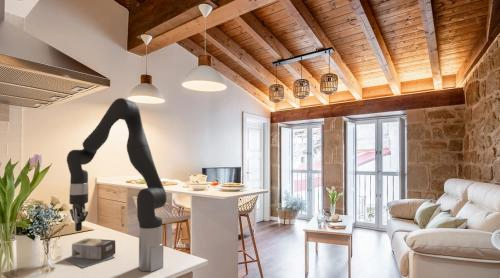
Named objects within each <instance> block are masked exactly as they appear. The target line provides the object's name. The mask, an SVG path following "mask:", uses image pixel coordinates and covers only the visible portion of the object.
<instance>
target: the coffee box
mask: <svg viewBox="0 0 500 278" xmlns="http://www.w3.org/2000/svg"><path fill="white" fill-rule="evenodd" d="M115 254H116V240H115V239H113V240H112V239H103V238H102V239H101V238H87V237H85V238H83V239H82V240H81V239H80V240H78V241H76V242H74V243H72V244H71V257H75V258H86V259H96V260H104V259H106V258H108V257H110V256H114V255H115Z"/></svg>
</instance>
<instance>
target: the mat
mask: <svg viewBox="0 0 500 278" xmlns="http://www.w3.org/2000/svg"><path fill="white" fill-rule="evenodd" d="M112 259H115V256H114V255H112V256H110V257H108V258H106V259H104V260H96V259H86V258H75V257H72V256H71V257H67V258H64V260H65V261H66V262H69V263H71V264H73V265H75V266H77V267H78V268H82V269H85V268H88V267H91V266H94V265H98V264H101V263H103V262H107V261H109V260H110V261H111V260H112Z"/></svg>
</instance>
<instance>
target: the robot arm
mask: <svg viewBox="0 0 500 278" xmlns="http://www.w3.org/2000/svg"><path fill="white" fill-rule="evenodd" d="M119 120H123V121H124V122H125V124H126V126H127V131H128V136H127V137H128V138H127V142H126V152H127V155H128V158H129V161H130V164H131V165H132V167H133V168H134V169H135V170H136V171H137V172H138V174H140V175H141V177H142V178H143V180H144V181H145V184H146V186H147V188H142V189H141V190H139V192H138V194H137V197H136V211H137V212H136V214H137V215H136V216H137V221H138V224H139V227H138V230H139V231H138V270H139V271H142V272H151V273H152V272H155V271H156V270H160V269H162V268H164V243H163V218H162V217H161V216H156V213H155V212H156V211H155V210H156V209H159V208H163V207H164V206H165V205H166V203H167V192H166V190H165V187H164V185H163V183H162V180H161V178H160V176H159V173H158V170H157V168H156V165H155V162H154V159H153V156H152V152H151V148H150V145H149V143H148V140H147V137H146V134H145V131H144V130H145V129H144V126H143V122H142V115H141V111H140V108H139V106H138V104H137V103H136V102H134V101H131V100H129V99H126V98H123V97H119V98H117V99H114V101H113V102H112V103H111V104H110V106H109V108H108V109H107V110H106V112H105V114H104V115H103V117H102V118H101V120H100V122H99V123H98V124H97V126H96V127H95V128H94V129H93V131H91V133H90V134H89V135H88V136H87V137H86V138H85V139H84V140H83V141H82V149H72V150H70V151H69V152H68V153H67V156H66V163H67V167H68V171H69V174H70V181H69V182H70V183H69V200H68V201H69V204H70V205H72V208H70V209H69V213H70V216H71V219H72V221H73V222H74V225H75V227H74V229H75V232H81V231H83V230H82V229H83V228H82V227H83V226H82V225H83V223H84V222H85V221H86V219H87V217H88V215H89V211H88V210H87V211H86V204H87V203H88V202H89V173H88V171H87V170H86V169H85V170H84V169H83V167H82V165H83V166H84V165H88V164H89V163H90V162H92V160H93V159H94V158H95V156H96V154H97V151H98V150H99V149H100V148H101V147H102V146H103V145H104V144H105V143H106V141H107V140H108V138H109V135H110V131H111V128H112V127H113V126H114V125H115V123H117V122H118V121H119Z"/></svg>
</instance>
